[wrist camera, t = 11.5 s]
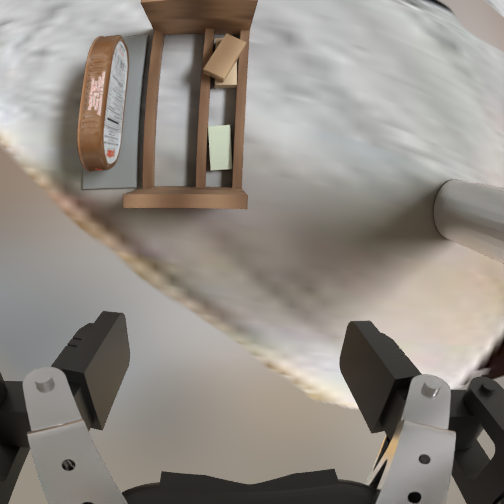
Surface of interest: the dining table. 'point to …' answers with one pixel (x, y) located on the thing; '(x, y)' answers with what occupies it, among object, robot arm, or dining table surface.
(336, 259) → the dining table surface
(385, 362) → the robot arm
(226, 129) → the offcut sage
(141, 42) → the felt mat
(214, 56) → the offcut oak
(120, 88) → the tin
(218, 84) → the offcut maple
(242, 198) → the rack
